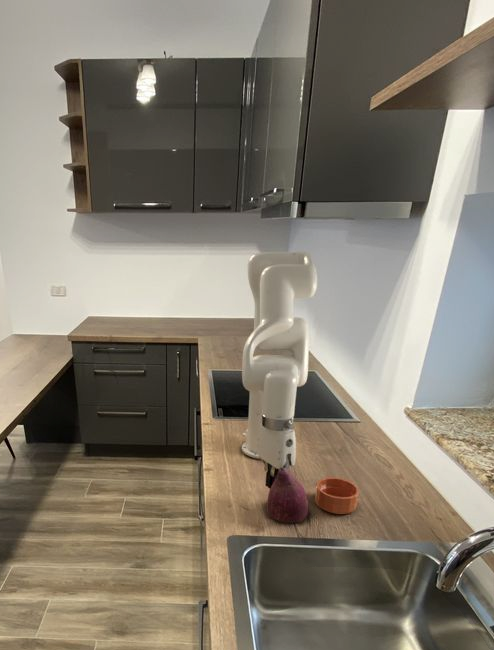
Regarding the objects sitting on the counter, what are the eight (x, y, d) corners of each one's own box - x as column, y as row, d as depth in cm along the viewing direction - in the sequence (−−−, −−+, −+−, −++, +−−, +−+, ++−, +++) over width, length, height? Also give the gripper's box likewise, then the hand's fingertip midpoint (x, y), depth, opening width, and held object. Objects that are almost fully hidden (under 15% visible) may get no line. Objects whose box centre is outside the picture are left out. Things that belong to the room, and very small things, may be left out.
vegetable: (277, 535, 108) (270, 491, 100) (261, 508, 117) (253, 465, 109) (316, 521, 109) (313, 476, 101) (298, 495, 118) (293, 451, 109)
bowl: (306, 500, 117) (308, 483, 115) (334, 489, 121) (336, 473, 119) (336, 520, 109) (338, 502, 107) (364, 508, 113) (367, 491, 111)
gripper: (310, 429, 104) (302, 495, 111) (270, 408, 116) (265, 470, 123) (285, 435, 100) (279, 504, 108) (246, 414, 112) (243, 477, 120)
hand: (272, 485), depth 115 cm, fingers closed
